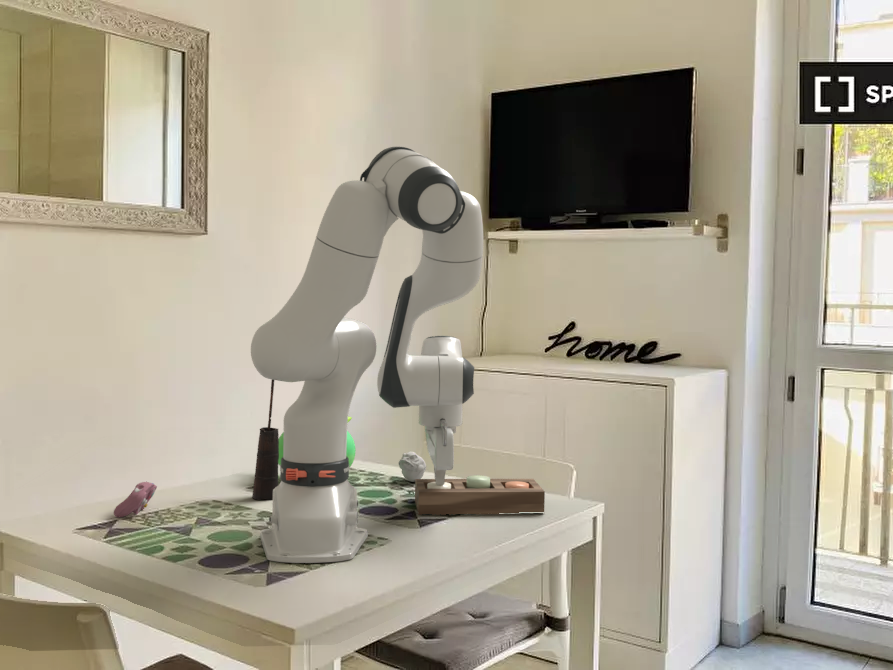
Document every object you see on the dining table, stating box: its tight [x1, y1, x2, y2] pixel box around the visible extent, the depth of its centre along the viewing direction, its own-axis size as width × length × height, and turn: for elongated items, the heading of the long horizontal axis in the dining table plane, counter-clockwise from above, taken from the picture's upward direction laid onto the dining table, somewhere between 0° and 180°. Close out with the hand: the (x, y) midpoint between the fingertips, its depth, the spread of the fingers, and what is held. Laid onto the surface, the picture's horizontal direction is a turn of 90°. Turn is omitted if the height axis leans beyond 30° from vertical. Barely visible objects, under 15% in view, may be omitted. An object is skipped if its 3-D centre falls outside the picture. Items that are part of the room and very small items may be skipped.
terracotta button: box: [505, 481, 529, 488], centre depth 184 cm, size 5×5×2 cm
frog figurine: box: [398, 451, 427, 483], centre depth 206 cm, size 6×7×7 cm
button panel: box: [414, 478, 546, 516], centre depth 183 cm, size 12×25×4 cm, turn 96°
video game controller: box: [113, 481, 158, 518], centre depth 175 cm, size 10×5×7 cm, turn 1°
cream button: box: [427, 482, 451, 489], centre depth 182 cm, size 5×5×2 cm
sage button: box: [466, 474, 491, 489], centre depth 183 cm, size 5×5×2 cm
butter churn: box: [252, 379, 280, 501], centre depth 186 cm, size 9×10×28 cm
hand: (439, 483), depth 182 cm, fingers closed
